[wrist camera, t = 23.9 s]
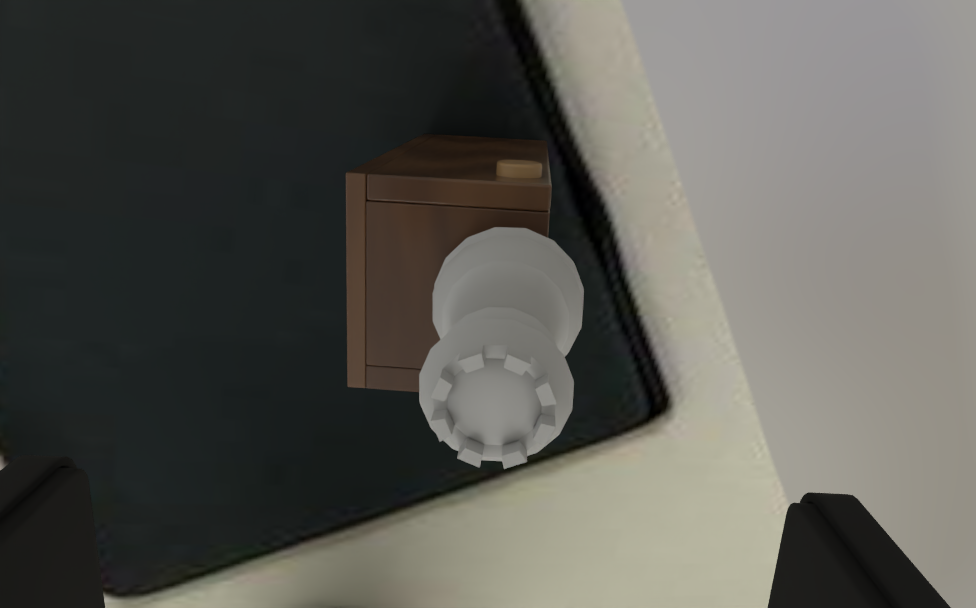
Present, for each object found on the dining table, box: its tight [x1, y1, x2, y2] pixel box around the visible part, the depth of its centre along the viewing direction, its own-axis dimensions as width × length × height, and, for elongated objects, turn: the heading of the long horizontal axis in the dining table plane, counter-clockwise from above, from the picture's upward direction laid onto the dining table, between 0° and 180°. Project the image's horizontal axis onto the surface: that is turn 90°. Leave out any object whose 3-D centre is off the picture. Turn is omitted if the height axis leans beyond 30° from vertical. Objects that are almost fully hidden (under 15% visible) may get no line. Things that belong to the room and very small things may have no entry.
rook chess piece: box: [419, 227, 584, 469], centre depth 18 cm, size 4×4×8 cm
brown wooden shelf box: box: [346, 134, 552, 392], centre depth 29 cm, size 15×8×6 cm
